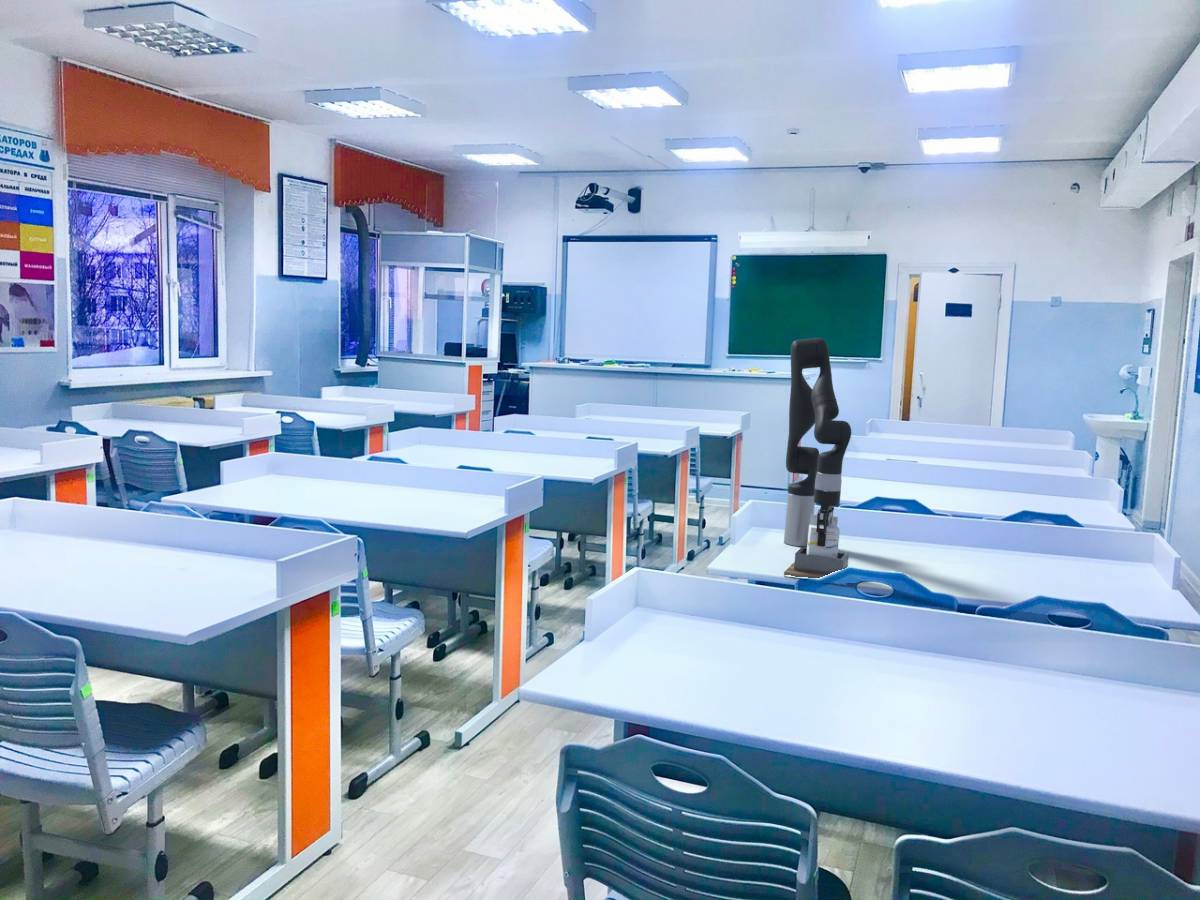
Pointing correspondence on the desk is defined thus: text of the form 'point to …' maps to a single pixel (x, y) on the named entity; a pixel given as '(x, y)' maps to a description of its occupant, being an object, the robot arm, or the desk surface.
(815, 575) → the base board
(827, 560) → the sleeve
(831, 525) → the ink cartridge box
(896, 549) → the desk surface
